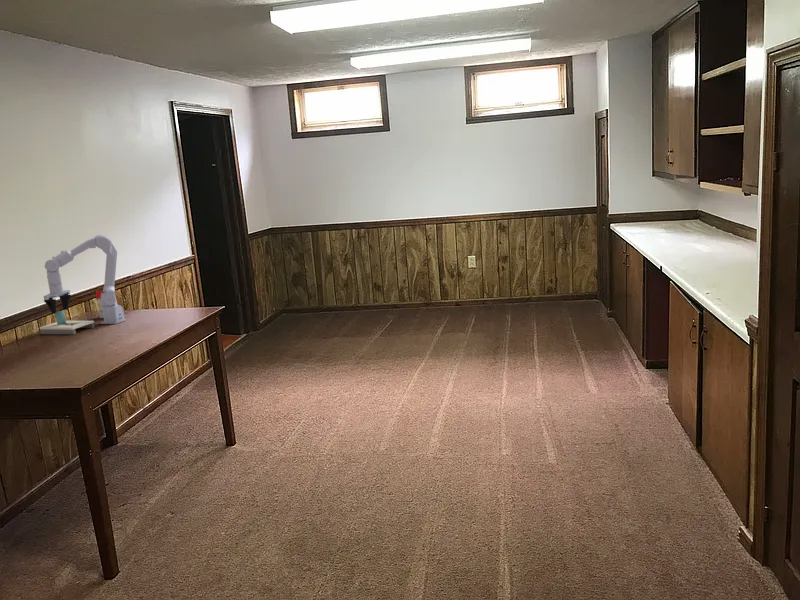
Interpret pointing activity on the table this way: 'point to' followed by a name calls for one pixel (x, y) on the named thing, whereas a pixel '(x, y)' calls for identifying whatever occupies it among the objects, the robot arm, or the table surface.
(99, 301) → the ink box
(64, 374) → the table surface
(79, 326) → the board
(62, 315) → the peg
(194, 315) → the table surface
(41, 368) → the table surface
